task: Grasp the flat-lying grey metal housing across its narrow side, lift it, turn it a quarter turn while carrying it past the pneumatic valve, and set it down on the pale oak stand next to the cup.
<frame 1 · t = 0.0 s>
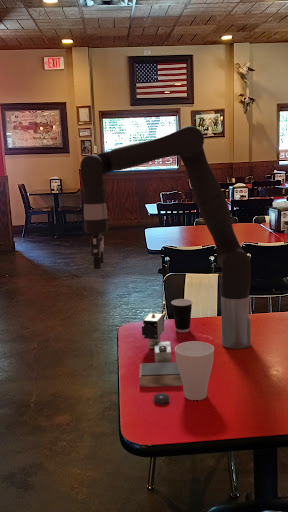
hand: (98, 265, 161), 29 cm above the table, tool pointing down, fingers open, 8 cm apart
dixie cup: (182, 330, 182), on the table
black cap: (161, 401, 129), on the table
housing: (163, 361, 155), on the table
pneumatic valve: (153, 347, 167), on the table
stand: (160, 379, 142), on the table
cup: (195, 396, 131), on the table
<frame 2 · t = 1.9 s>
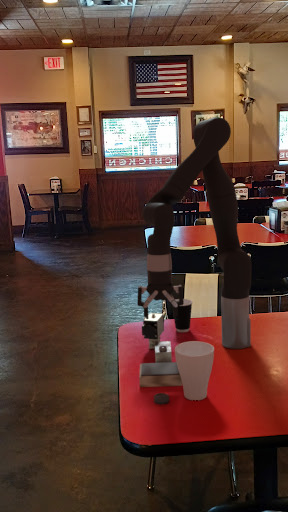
hand: (160, 318, 152), 14 cm above the table, tool pointing down, fingers open, 8 cm apart
nothing on the table moved.
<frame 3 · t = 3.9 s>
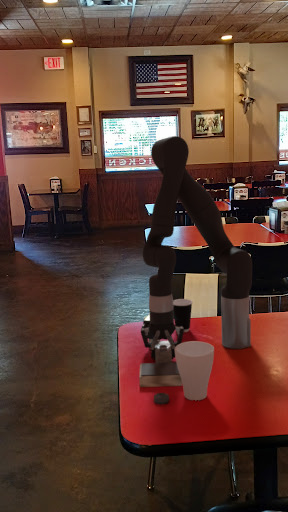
hand: (163, 358, 155), 1 cm above the table, tool pointing down, fingers closed on housing, 5 cm apart
housing: (163, 360, 155), on the table, touching gripper
everything else where it was.
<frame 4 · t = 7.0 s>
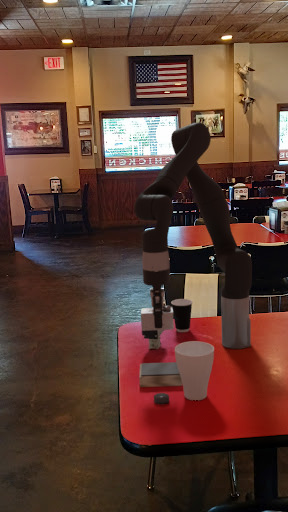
hand: (158, 324, 139), 17 cm above the table, tool pointing down, fingers closed on housing, 5 cm apart
housing: (157, 327, 139), point 16 cm above the table, touching gripper
everything else where it was.
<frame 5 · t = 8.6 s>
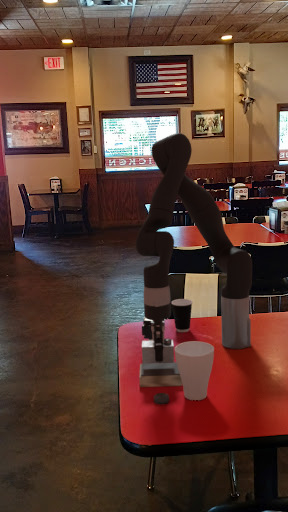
hand: (159, 357, 141), 7 cm above the table, tool pointing down, fingers closed on housing, 5 cm apart
housing: (158, 359, 141), point 6 cm above the table, touching gripper
everything else where it was.
when the fingers open (6 cm above the table, at t = 9.8 s): housing drops 1 cm, resting on stand.
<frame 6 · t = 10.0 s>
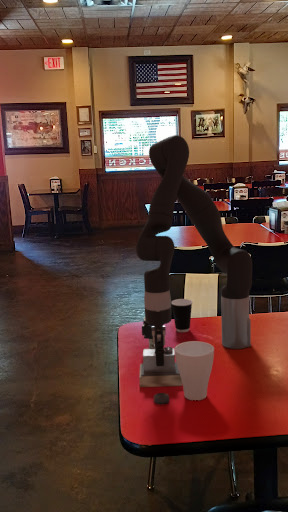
hand: (159, 360, 141), 6 cm above the table, tool pointing down, fingers open, 6 cm apart
housing: (159, 368, 141), point 3 cm above the table, touching stand
everything else where it was.
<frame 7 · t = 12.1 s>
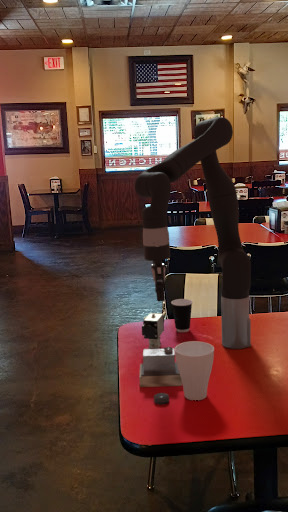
hand: (160, 296, 143), 23 cm above the table, tool pointing down, fingers open, 8 cm apart
nothing on the table moved.
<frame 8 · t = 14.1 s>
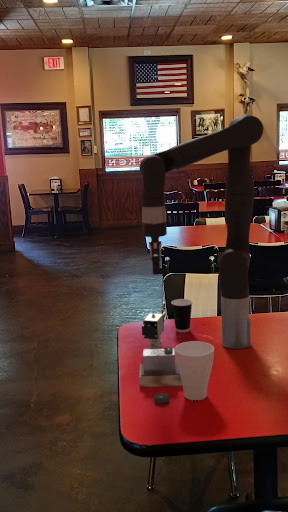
hand: (156, 271, 155), 28 cm above the table, tool pointing down, fingers open, 8 cm apart
nothing on the table moved.
at the end: housing 0.3 cm from the stand (horizontally); housing touching stand; housing tilted 0° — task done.
